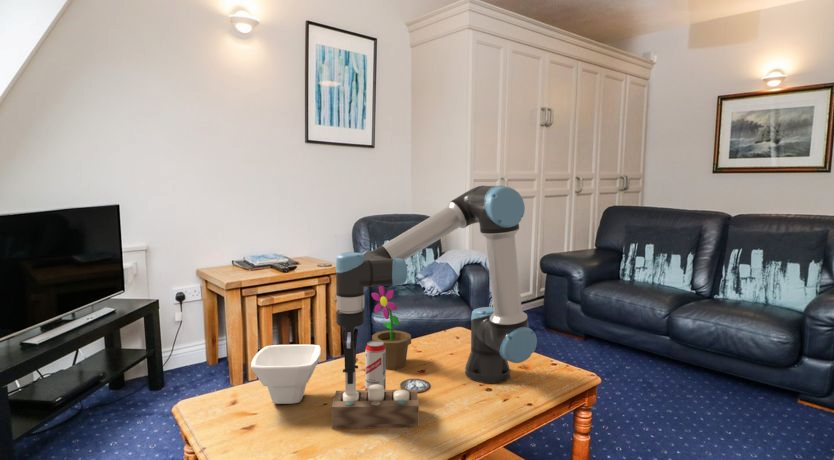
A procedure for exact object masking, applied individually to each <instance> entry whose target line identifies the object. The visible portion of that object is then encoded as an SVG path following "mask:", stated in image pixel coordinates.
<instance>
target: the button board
mask: <svg viewBox="0 0 834 460" xmlns="http://www.w3.org/2000/svg"><path fill="white" fill-rule="evenodd" d="M397 390H398V389H386V390H384V401H368V390H365V389H363V390H362V389H361V390H359V389H358V390H357V389H356V391H357V392H358V393H359V401H343V393H344V392H346V390H335V393H334V397H333V400H332V401H333V402H332V405H331V429H332V430H334V429H335V430H337V429H340V430H341V429H342V430H343V429H383V428H384V429H389V428H390V429H392V428H396V429H397V428H402V429H403V428H419V426H420V425H419V424H420V421H419V417H420V416H419V414H420V413H419V412H420V411H419V410H420V408H419V407H420V405H419V397H418V396H419V395H418V390H417V389H405V390H406V391H408V392H409V400H394V392H395V391H397Z"/></svg>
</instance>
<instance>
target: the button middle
mask: <svg viewBox="0 0 834 460" xmlns="http://www.w3.org/2000/svg"><path fill="white" fill-rule="evenodd" d="M368 401H384V386H383V385H379V384H374V385H371V386H369V387H368Z"/></svg>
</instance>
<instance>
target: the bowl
mask: <svg viewBox="0 0 834 460" xmlns="http://www.w3.org/2000/svg"><path fill="white" fill-rule="evenodd" d="M321 356H322V349H321V346H320V345H319V344H307V343H306V344H275V345H273V344H272V345H266V346H264V347H263V348H261V349H259V351H258V352H257V353H256V354H254V357H252V360H251V362H250V364H251V366H250V368H251V370H252V372H253V373H254V374H255V376H256V377H257V379H258V380H259V381H260V383H261V384H262V386H263V387H267V389H268V392H269V396H270V399H271V402H272V403H273V404H277V405H281V404H284V405H286V404H288V405H289V404H297V403H300V402H301V401H302V399H303V398H304V394H305V390H306V387H307V383H308V382H309V381H310V379H311V378H312V375H313V373H314V371H315V369H316V367H317V365H318V363H319V361H320V359H321Z"/></svg>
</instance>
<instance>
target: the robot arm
mask: <svg viewBox="0 0 834 460" xmlns="http://www.w3.org/2000/svg"><path fill="white" fill-rule="evenodd" d="M525 210H526V209H525V201H524V199H523V197H522V195H521V194H520V192H518V191H517V190H516V189H514V188H512V187H510V186H505V185H479V186H475V187H473V188H471V189H469V190H468V191H465V192H464V193H462V194H460V195H459V196H457V197H456V198H454V199H452V200H450V201H449V202H447V205H446V207H444V208H442V209H441V210H440V211H438V212H436V213H435V214H433V215H431V216H430V217H428V218H426V219H424V220H423V221H421V222H420V223H417V224H416V225H414V226H412V227H411V228H409V229H407V230H406V231H404V232H402V233H401V234H399V235H398V236H396V237H394V238H392V239H391V240H389V241H387V242H385V243H383V244H382V245H380V246H378V247H377V248H375V249H373V250H365V251H364V252H363V253H361V252H341V253H339V254H338V255H337V256H336V261H335V263H336V264H335V286H336V287H335V291H336V297H334V299H333V301H334V302H336V310H337V311H336V313H335V315H336V318H335V319H336V324H337V326H339V327H343V332H342V341H343V343H342V344H343V353H344V354H343V355H344V368H343V369H342V373H345V378H344V379H345V381H344V382H345V391H346V394H356V390H357V388H356V387H357V383H356V382H357V376H356V375H357V374H356V372H357V369H359V365H356V364H357V345H358V335H359V328H357V327H361V326H362V325H364V323H365V310H364V308H365V289H366V288H376V287H377V288H379V286H384V287H391V286H392V287H395V286H400V285H404V284H405V283H406V282H407V279H408V266H407V262H406V260H407V259H410V258H411V257H412V256H414V255H416V254H417V253H419V252H421V251H423V250H424V249H425V248H427V247H429V246H431V245H432V244H434V243H436V242H437V241H439V240H442V238H444V237H446V236H448V235H449V234H451V233H452V232H454V231H456V230H458V229H459V228H460V229H465V228H467V227H468V226H470V225H473V224H477V223H478V224H479V231H480V234H481V235H482V236H483V237H485V241H486V250H487V260H488V269H489V270H488V271H489V279H490V280H489V281H490V287H491V288H490V289H491V296H492V298H491V299H492V305H493V306H483V307H478V308H475V309H473V310H472V311H471V318H470V323H471V324H470V332H471V333H470V353H469V356H468V358H467V361H466V363H465V368H464V369H465V371H464V372H465V376H466V377H467V378H469V379H471V380H473V381H475V382H478V383H485V384H498V383H503V382H505V381H506V382H507V380H509V379H510V377H511V368H510V365H509V363H513V364H520V363H523V362H525V361H527V360H528V359H529V358H530V357H531V356H532V354H534V353H535V350H536V347H537V344H538V343H537V342H538V340H537V335H536V333H535V332H534V331H533V330H532V329H531V328H530V327H529V319H528V314H527V313H526V312H524V311H523V309H522V301H521V288H520V287H521V285H520V276H519V265H518V256H517V247H516V246H517V245H516V234H517V233H518V232H519V230H520V223H521V221H522V218H524V216H525Z"/></svg>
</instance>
